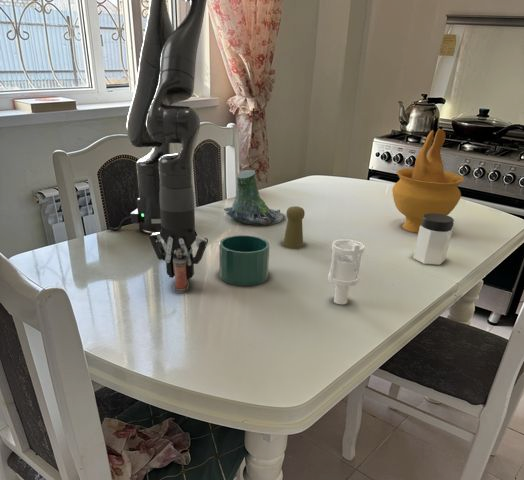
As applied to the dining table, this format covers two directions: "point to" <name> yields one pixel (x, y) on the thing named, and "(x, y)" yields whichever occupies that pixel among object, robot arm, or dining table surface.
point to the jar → (433, 238)
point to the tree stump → (251, 203)
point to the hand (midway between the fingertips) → (180, 277)
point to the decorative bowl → (426, 185)
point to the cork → (294, 228)
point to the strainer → (345, 268)
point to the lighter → (180, 272)
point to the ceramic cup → (244, 260)
